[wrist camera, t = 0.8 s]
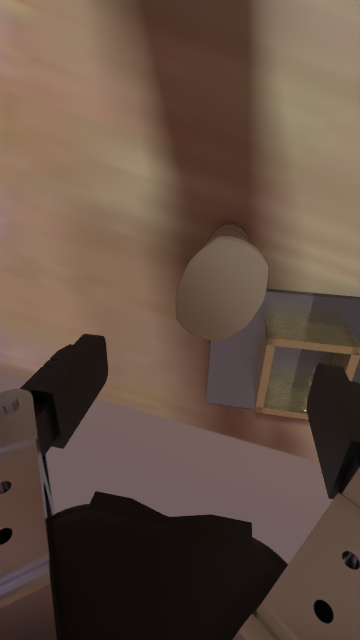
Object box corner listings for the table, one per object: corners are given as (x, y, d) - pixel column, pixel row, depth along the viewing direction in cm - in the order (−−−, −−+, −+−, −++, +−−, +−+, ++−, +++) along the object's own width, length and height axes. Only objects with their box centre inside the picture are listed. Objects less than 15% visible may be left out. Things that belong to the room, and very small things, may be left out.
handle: (268, 219, 30) (286, 265, 17) (235, 276, 33) (230, 352, 20) (223, 197, 30) (206, 225, 17) (194, 256, 33) (161, 319, 20)
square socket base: (215, 284, 34) (211, 302, 30) (418, 302, 31) (445, 324, 27) (206, 398, 41) (202, 425, 37) (369, 421, 38) (384, 453, 34)
